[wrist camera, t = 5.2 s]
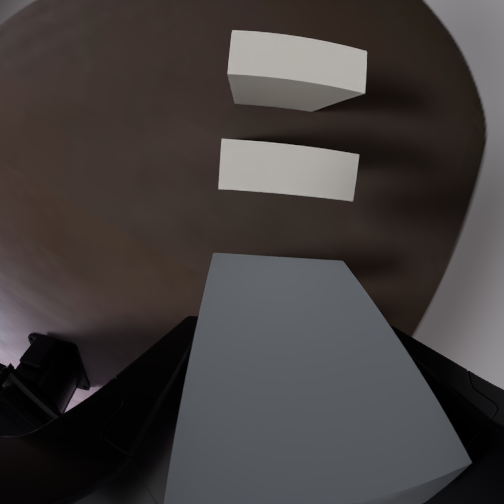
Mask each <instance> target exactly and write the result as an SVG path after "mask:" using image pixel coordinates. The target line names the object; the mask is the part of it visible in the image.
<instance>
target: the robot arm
mask: <svg viewBox="0 0 504 504" xmlns="http://www.w3.org/2000/svg"><path fill="white" fill-rule="evenodd" d="M197 321H198V317H197V316H188V317H187V318H185V319H184V320H183V321H182V322H181V323H179V324H178V325H177V326H176V327H175V328H173V329H172V330H171V331H170V332H169V333H167V334H166V335H165V336H164V337H163V338H161V339H160V340H159V341H158V342H157V343H155V344H154V345H153V346H152V347H150V348H149V349H148V350H147V351H146V352H144V353H143V354H142V355H141V356H140V357H138V358H137V359H136V360H135V361H134V362H132V363H131V364H130V365H129V366H128V367H126V368H125V369H124V370H123V371H121V372H120V373H119V374H118V375H117V376H116V378H113V379H112V380H110V381H109V382H108V383H107V384H106V385H104V386H103V387H102V388H100V389H99V390H98V391H96V392H95V393H94V394H93V395H91V396H90V397H88V398H87V399H85V400H84V401H82V402H81V403H79V404H78V405H76V406H75V407H73V408H72V409H70V410H69V411H67V412H65V410H66V408H67V406H68V404H69V402H70V400H71V398H72V396H73V395H74V393H75V391H76V389H77V388H79V389H83V390H89V389H90V384H89V381H88V378H87V376H86V373H85V370H84V367H83V365H82V362H81V359H80V356H79V353H78V350H77V347H76V346H75V345H74V344H72V343H68V342H64V341H59V340H55V339H51V338H47V337H43V336H39V335H36V334H32V333H31V334H30V335H29V336H28V339H29V342H30V344H31V345H30V347H29V348H28V349H27V351H26V352H25V353H24V354H23V356H22V357H21V358H20V364H19V365H18V366H17V368H16V369H14V366H13V365H12V364H11V363H10V364H9V365H8V366H6V365H3V364H1V363H0V504H164V498H165V491H166V485H167V478H168V472H169V466H170V460H171V454H172V448H173V442H174V436H175V431H176V425H177V420H178V414H179V409H180V404H181V398H182V393H183V388H184V383H185V378H186V373H187V368H188V363H189V358H190V354H191V349H192V344H193V339H194V335H195V330H196V326H197ZM389 325H390V324H389ZM390 327H391V328H392V330H393V331H394V333H395V334H396V336H397V337H398V339H399V340H400V342H401V343H402V345H403V346H404V348H405V349H406V351H407V352H408V354H409V355H410V357H411V358H412V360H413V362H414V363H415V365H416V366H417V368H418V369H419V371H420V373H421V374H422V376H423V377H424V379H425V381H426V382H427V384H428V385H429V387H430V389H431V390H432V392H433V394H434V395H435V397H436V399H437V400H438V402H439V404H440V405H441V407H442V409H443V410H444V412H445V414H446V416H447V417H448V419H449V421H450V423H451V424H452V426H453V428H454V430H455V432H456V433H457V435H458V437H459V439H460V441H461V443H462V444H463V446H464V448H465V450H466V452H467V454H468V456H469V458H470V460H471V462H472V463H471V464H470V465H469V466H468V467H467V468H466V469H465V470H464V471H463V472H462V473H460V474H459V475H458V476H457V477H456V478H455V479H454V480H452V481H451V482H450V483H449V484H448V485H447V486H445V487H444V488H443V489H442V490H440V491H439V492H438V493H437V494H435V495H434V496H433V497H431V498H430V499H429V500H427V501H426V502H425V503H422V504H504V390H503V389H501V388H499V387H497V386H495V385H493V384H491V383H489V382H488V381H486V380H484V379H482V378H480V377H478V376H477V375H475V374H474V373H472V372H470V371H467V369H465V368H463V367H462V366H460V365H458V364H456V363H455V362H453V361H451V360H450V359H448V358H446V357H444V356H443V355H441V354H439V353H438V352H436V351H434V350H432V349H431V348H429V347H427V346H426V345H424V344H422V343H421V342H419V341H417V340H415V339H414V338H412V337H410V336H408V335H407V334H405V333H403V332H402V331H400V330H398V329H396V328H395V327H393V326H391V325H390ZM64 412H65V413H64Z"/></svg>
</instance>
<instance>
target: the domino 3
mask: <svg viewBox="0 0 504 504" xmlns="http://www.w3.org/2000/svg"><path fill="white" fill-rule="evenodd" d="M471 463H472V462H471V460H470V458H469V456H468V454H467V452H466V450H465V448H464V446H463V444H462V443H461V441H460V439H459V437H458V435H457V433H456V432H455V430H454V428H453V426H452V424H451V423H450V421H449V419H448V417H447V416H446V414H445V412H444V410H443V409H442V407H441V405H440V404H439V402H438V400H437V399H436V397H435V395H434V394H433V392H432V390H431V389H430V387H429V385H428V384H427V382H426V381H425V379H424V377H423V376H422V374H421V373H420V371H419V369H418V368H417V366H416V365H415V363H414V362H413V360H412V358H411V357H410V355H409V354H408V352H407V351H406V349H405V348H404V346H403V345H402V343H401V342H400V340H399V339H398V337H397V336H396V334H395V333H394V331H393V330H392V328H391V327H390V325H389V324H388V322H387V321H386V320H385V318H384V317H383V315H382V314H381V312H380V311H379V310H378V308H377V307H376V305H375V304H374V302H373V301H372V300H371V298H370V297H369V295H368V294H367V293H366V291H365V290H364V289H363V287H362V286H361V284H360V283H359V282H358V280H357V279H356V278H355V276H354V275H353V274H352V272H351V271H350V270H349V268H348V267H347V266H346V264H345V263H344V262H343V261H338V260H321V259H305V258H289V257H273V256H257V255H241V254H225V253H213V256H212V261H211V265H210V269H209V273H208V277H207V282H206V286H205V290H204V294H203V299H202V303H201V308H200V312H199V317H198V321H197V326H196V330H195V335H194V339H193V344H192V349H191V354H190V358H189V363H188V368H187V373H186V378H185V383H184V388H183V393H182V398H181V404H180V409H179V414H178V420H177V425H176V431H175V436H174V442H173V448H172V454H171V460H170V466H169V472H168V478H167V485H166V491H165V498H164V504H422V503H425V502H426V501H427V500H429V499H430V498H431V497H433V496H434V495H435V494H437V493H438V492H439V491H440V490H442V489H443V488H444V487H445V486H447V485H448V484H449V483H450V482H451V481H452V480H454V479H455V478H456V477H457V476H458V475H459V474H460V473H462V472H463V471H464V470H465V469H466V468H467V467H468V466H469V465H470V464H471Z"/></svg>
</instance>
